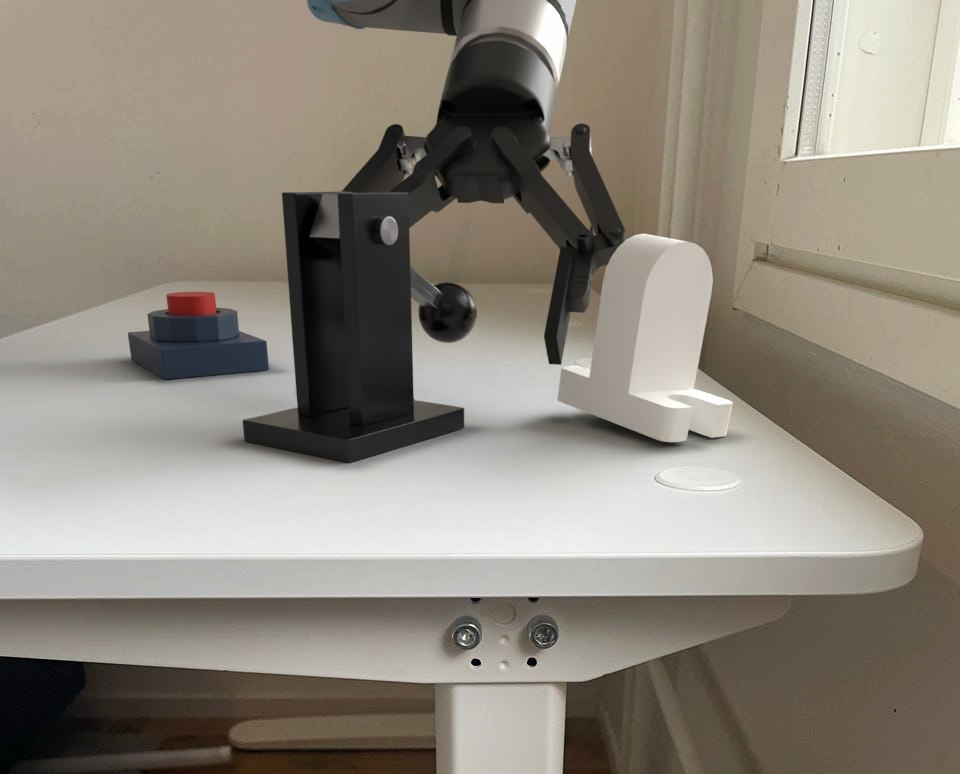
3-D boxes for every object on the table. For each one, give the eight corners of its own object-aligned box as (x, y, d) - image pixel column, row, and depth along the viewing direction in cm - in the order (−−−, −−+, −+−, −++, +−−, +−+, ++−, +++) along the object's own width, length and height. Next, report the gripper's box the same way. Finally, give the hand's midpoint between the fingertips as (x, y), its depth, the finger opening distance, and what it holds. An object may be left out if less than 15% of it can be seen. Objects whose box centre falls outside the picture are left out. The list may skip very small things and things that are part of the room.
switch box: (131, 360, 82) (124, 308, 81) (227, 352, 86) (222, 302, 84) (164, 379, 74) (157, 322, 73) (269, 370, 78) (264, 315, 76)
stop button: (163, 316, 79) (160, 293, 78) (209, 313, 81) (206, 290, 80) (176, 321, 76) (173, 297, 76) (223, 318, 78) (221, 294, 77)
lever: (432, 349, 65) (449, 296, 65) (477, 355, 63) (494, 300, 63) (295, 246, 54) (316, 182, 54) (345, 249, 52) (366, 183, 52)
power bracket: (364, 411, 65) (353, 190, 59) (464, 428, 60) (463, 192, 55) (244, 441, 57) (220, 192, 52) (348, 463, 53) (334, 194, 48)
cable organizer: (616, 394, 66) (641, 228, 61) (730, 435, 59) (768, 251, 54) (553, 398, 63) (574, 225, 58) (665, 443, 56) (699, 249, 51)
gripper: (688, 128, 70) (650, 392, 63) (345, 130, 75) (275, 373, 68) (690, 28, 63) (647, 312, 56) (313, 38, 68) (231, 298, 61)
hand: (442, 346), depth 62 cm, fingers open, 13 cm apart
